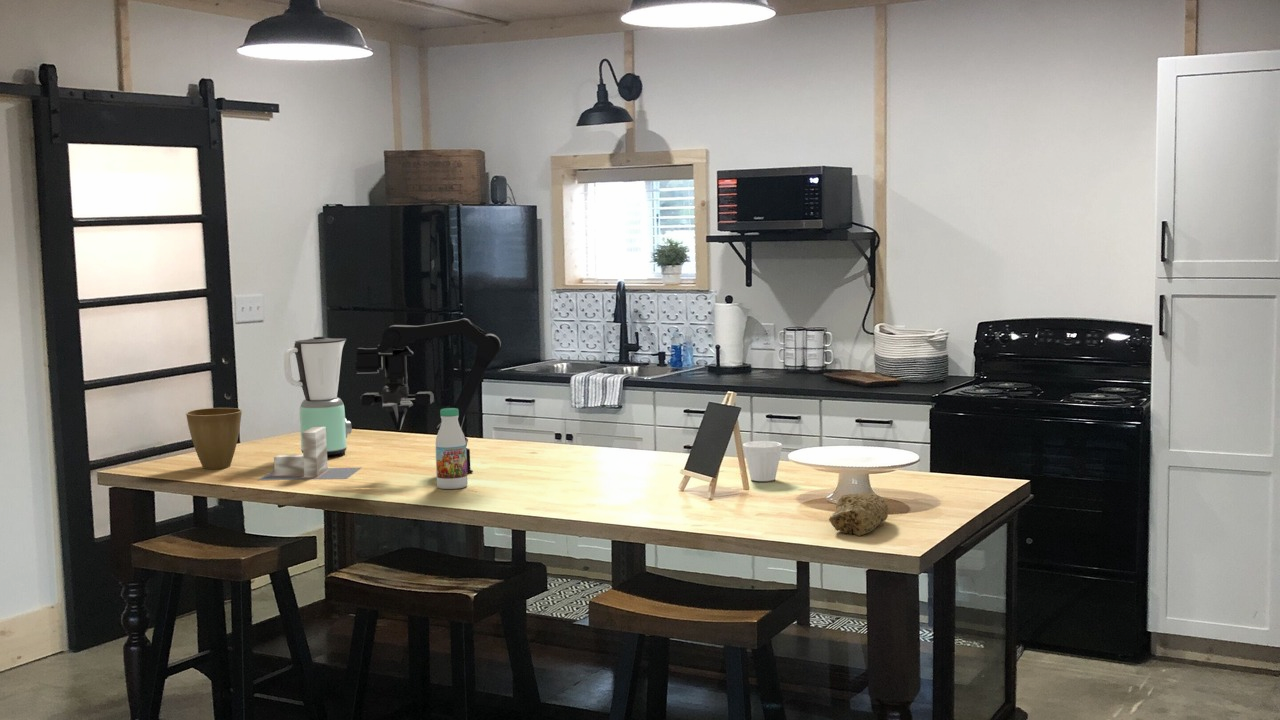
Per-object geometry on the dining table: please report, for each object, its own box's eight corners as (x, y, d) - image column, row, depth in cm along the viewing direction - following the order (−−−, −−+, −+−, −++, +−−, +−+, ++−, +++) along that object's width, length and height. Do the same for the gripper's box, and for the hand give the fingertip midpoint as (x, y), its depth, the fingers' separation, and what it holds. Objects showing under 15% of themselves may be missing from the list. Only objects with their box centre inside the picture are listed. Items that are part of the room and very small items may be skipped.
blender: (341, 449, 384) (336, 334, 380) (360, 454, 373) (355, 336, 370) (281, 456, 372) (275, 338, 369) (298, 462, 362) (292, 340, 358)
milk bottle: (431, 487, 321) (427, 409, 319) (456, 482, 326) (453, 405, 324) (447, 491, 315) (444, 411, 313) (473, 486, 320) (470, 408, 318)
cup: (785, 477, 323) (785, 441, 322) (779, 484, 313) (778, 447, 313) (747, 475, 326) (746, 440, 325) (739, 483, 316) (739, 446, 315)
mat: (362, 468, 349) (362, 467, 349) (346, 480, 333) (346, 478, 333) (276, 470, 350) (276, 469, 350) (256, 481, 334) (256, 480, 334)
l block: (327, 470, 346) (325, 426, 345) (317, 477, 336) (315, 432, 335) (282, 470, 347) (280, 427, 346) (271, 477, 337) (268, 433, 336)
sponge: (876, 544, 257) (907, 506, 273) (866, 509, 255) (898, 472, 272) (818, 549, 264) (851, 511, 280) (808, 514, 263) (842, 478, 279)
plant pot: (180, 472, 351) (177, 415, 349) (202, 462, 366) (199, 407, 364) (232, 471, 350) (229, 414, 348) (252, 461, 365) (249, 407, 363)
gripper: (353, 376, 329) (356, 436, 330) (424, 375, 328) (427, 434, 329) (364, 372, 340) (366, 429, 341) (433, 370, 339) (435, 428, 340)
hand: (398, 430), depth 338 cm, fingers closed
